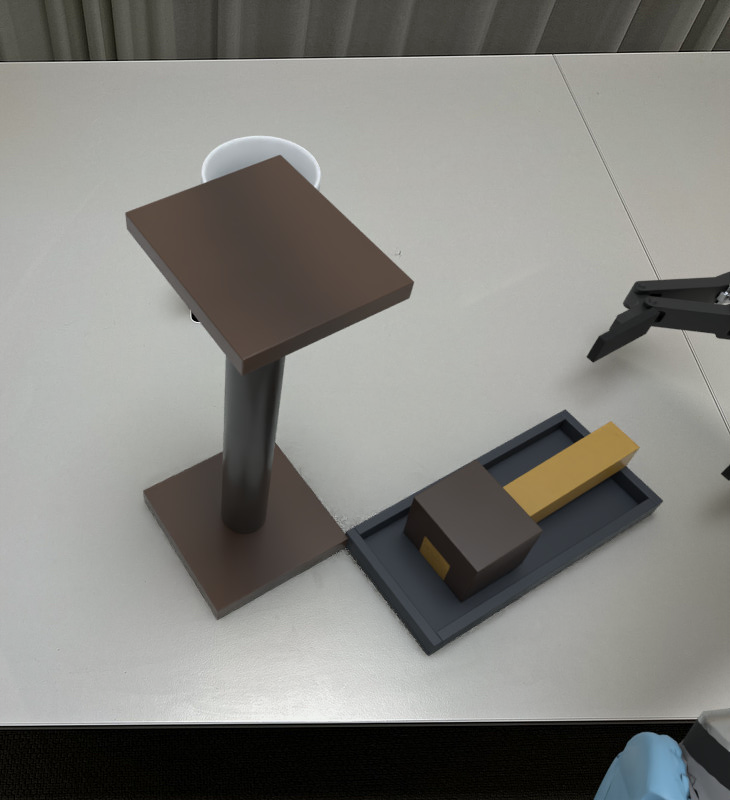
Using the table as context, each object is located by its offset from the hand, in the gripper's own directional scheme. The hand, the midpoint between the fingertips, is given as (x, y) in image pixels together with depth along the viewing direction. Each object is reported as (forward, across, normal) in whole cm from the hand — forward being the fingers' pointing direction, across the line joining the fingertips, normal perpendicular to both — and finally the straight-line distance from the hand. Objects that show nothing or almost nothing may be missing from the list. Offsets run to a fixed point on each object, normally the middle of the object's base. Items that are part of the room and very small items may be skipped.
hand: (660, 405), depth 63 cm
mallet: (+13, 0, -5) cm, 14 cm away
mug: (+17, +34, -7) cm, 39 cm away
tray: (+14, 0, -7) cm, 16 cm away
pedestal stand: (+32, +11, -7) cm, 35 cm away
